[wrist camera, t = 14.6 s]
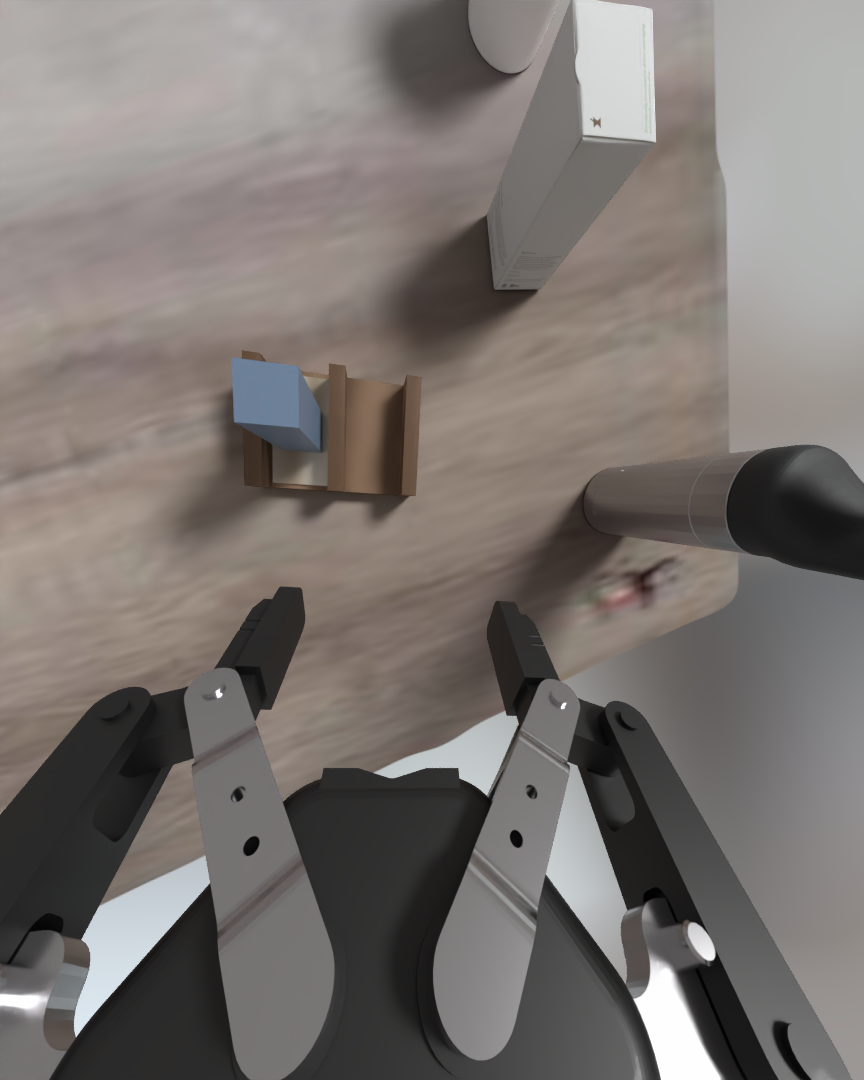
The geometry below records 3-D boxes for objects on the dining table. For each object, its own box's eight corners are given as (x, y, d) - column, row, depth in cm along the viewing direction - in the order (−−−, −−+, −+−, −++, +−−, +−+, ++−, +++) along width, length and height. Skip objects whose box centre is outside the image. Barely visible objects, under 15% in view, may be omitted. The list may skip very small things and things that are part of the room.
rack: (414, 392, 35) (421, 377, 31) (409, 495, 37) (415, 495, 32) (258, 370, 32) (241, 350, 27) (260, 486, 33) (244, 485, 29)
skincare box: (539, 292, 37) (660, 150, 22) (489, 292, 36) (580, 141, 21) (535, 212, 36) (660, 2, 20) (482, 209, 34) (574, -17, 19)
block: (322, 413, 32) (298, 366, 20) (322, 452, 33) (299, 428, 21) (281, 409, 31) (231, 357, 20) (282, 449, 32) (233, 421, 20)
